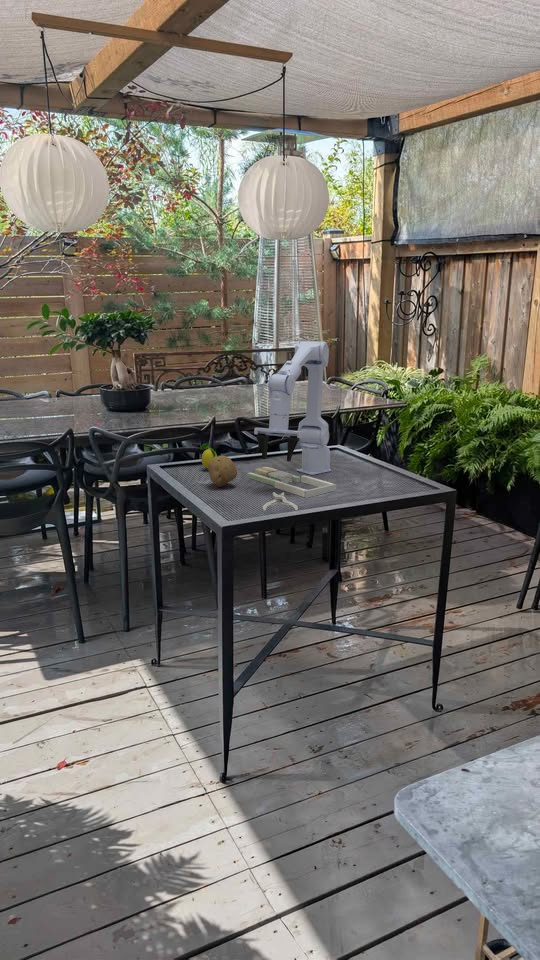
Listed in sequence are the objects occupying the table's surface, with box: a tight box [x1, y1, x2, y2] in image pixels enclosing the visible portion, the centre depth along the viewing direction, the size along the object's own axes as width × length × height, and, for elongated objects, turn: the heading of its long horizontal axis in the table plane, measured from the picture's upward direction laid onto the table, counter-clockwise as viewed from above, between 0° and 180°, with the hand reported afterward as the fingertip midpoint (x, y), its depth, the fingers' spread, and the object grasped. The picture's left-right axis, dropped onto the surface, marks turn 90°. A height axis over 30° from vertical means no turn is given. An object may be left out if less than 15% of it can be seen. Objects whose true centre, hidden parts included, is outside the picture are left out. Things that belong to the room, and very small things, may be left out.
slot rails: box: [246, 472, 301, 487], centre depth 229 cm, size 10×15×2 cm, turn 40°
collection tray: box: [274, 475, 337, 499], centre depth 218 cm, size 12×14×2 cm
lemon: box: [199, 441, 218, 470], centre depth 240 cm, size 7×6×10 cm
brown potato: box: [207, 454, 238, 488], centre depth 219 cm, size 9×9×10 cm
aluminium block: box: [269, 470, 293, 484], centre depth 226 cm, size 5×6×3 cm
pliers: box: [262, 491, 299, 512], centre depth 203 cm, size 10×2×15 cm
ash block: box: [254, 466, 279, 478], centre depth 231 cm, size 5×6×3 cm
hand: (276, 460), depth 211 cm, fingers open, 7 cm apart
